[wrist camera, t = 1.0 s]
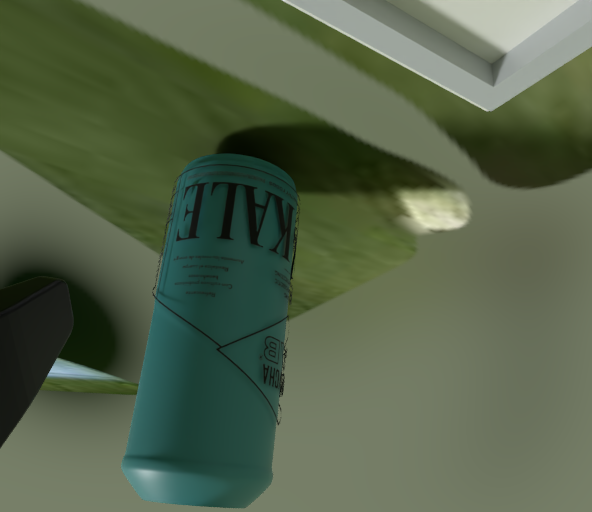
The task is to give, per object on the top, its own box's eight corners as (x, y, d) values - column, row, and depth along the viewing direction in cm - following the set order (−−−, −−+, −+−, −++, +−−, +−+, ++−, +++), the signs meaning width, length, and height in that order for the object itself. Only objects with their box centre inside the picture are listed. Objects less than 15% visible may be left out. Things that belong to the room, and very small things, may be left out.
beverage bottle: (226, 200, 33) (170, 582, 25) (152, 139, 28) (51, 599, 20) (325, 180, 30) (296, 607, 22) (263, 107, 25) (195, 634, 17)
